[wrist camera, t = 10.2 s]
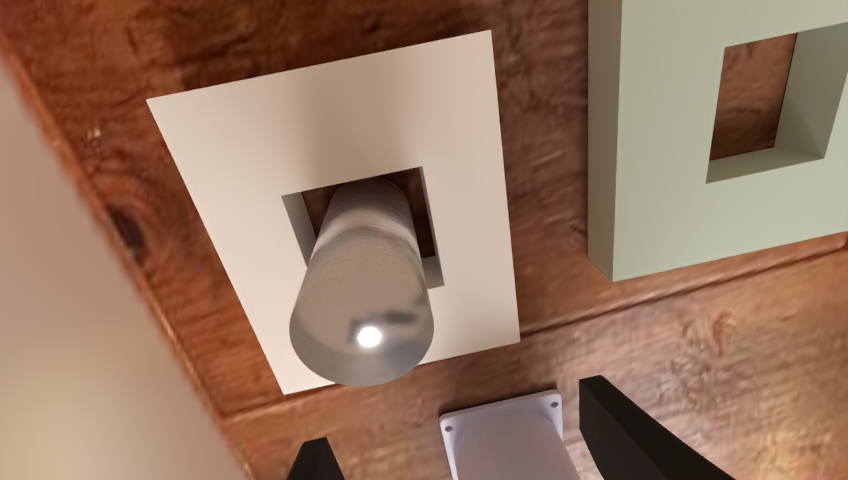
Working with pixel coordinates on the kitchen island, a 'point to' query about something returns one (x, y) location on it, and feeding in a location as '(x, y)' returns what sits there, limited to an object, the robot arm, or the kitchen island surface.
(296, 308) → the steel peg
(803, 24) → the socket block
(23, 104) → the kitchen island surface
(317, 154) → the cream square-hole board
